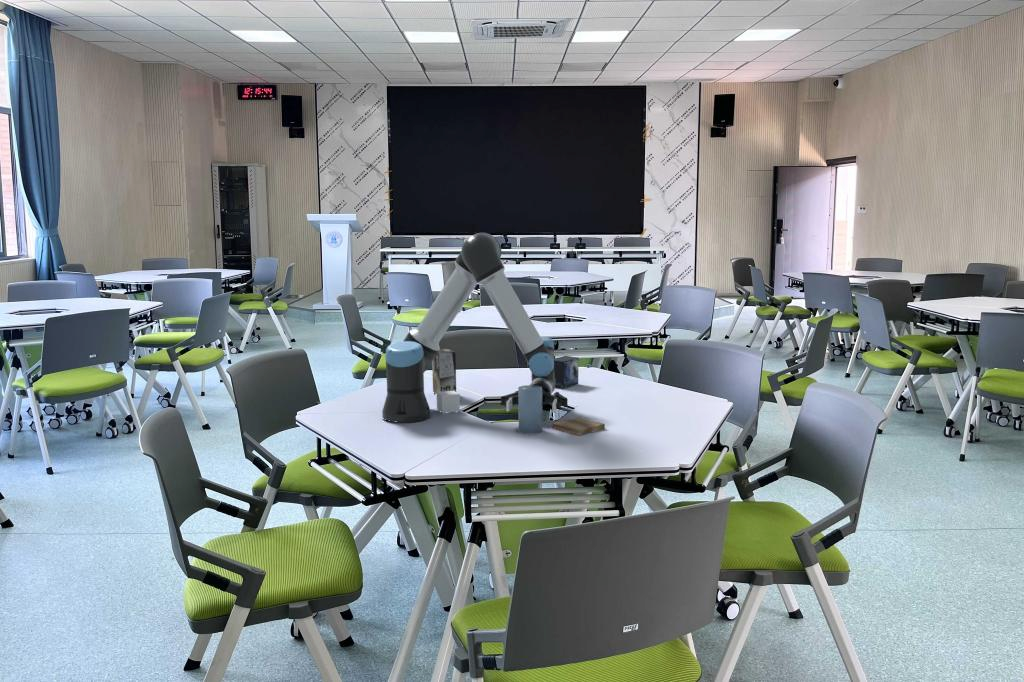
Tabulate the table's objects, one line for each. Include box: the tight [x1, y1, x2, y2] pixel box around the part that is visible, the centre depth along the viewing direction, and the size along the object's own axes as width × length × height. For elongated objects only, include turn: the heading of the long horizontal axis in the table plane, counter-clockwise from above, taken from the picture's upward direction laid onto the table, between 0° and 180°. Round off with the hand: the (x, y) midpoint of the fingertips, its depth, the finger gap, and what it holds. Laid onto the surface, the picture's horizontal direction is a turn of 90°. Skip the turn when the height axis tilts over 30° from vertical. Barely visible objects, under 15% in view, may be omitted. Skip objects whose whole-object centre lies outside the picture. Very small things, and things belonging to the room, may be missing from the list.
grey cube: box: [436, 391, 461, 414], centre depth 266 cm, size 6×6×6 cm
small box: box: [554, 355, 580, 390], centre depth 302 cm, size 11×6×10 cm, turn 143°
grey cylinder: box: [517, 384, 543, 435], centre depth 239 cm, size 7×7×13 cm
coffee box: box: [431, 348, 457, 395], centre depth 288 cm, size 9×6×16 cm
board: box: [551, 417, 606, 436], centre depth 242 cm, size 11×11×2 cm
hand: (530, 407), depth 237 cm, fingers open, 13 cm apart
